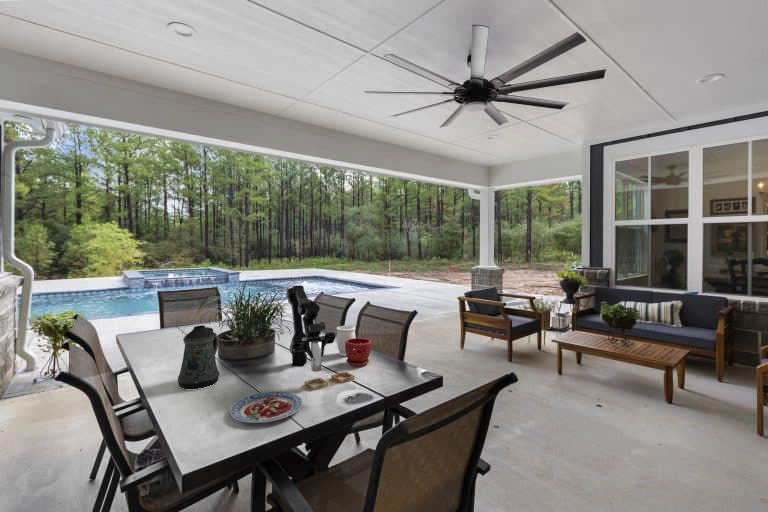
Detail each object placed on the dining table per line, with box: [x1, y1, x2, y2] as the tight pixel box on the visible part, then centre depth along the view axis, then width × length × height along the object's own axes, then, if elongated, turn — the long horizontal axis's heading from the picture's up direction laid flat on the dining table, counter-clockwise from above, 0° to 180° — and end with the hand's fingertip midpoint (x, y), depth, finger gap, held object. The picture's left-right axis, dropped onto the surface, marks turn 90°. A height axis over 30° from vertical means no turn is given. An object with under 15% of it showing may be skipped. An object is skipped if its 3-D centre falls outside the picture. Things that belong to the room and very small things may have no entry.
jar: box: [336, 325, 356, 357], centre depth 208 cm, size 11×10×15 cm
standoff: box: [310, 341, 323, 373], centre depth 162 cm, size 4×4×12 cm
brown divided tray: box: [302, 371, 357, 392], centre depth 166 cm, size 22×8×2 cm, turn 126°
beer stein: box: [177, 324, 220, 390], centre depth 168 cm, size 16×19×25 cm
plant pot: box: [345, 337, 372, 367], centre depth 193 cm, size 13×13×12 cm
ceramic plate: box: [229, 390, 304, 424], centre depth 140 cm, size 26×26×3 cm
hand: (317, 357), depth 161 cm, fingers closed on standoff, 4 cm apart
